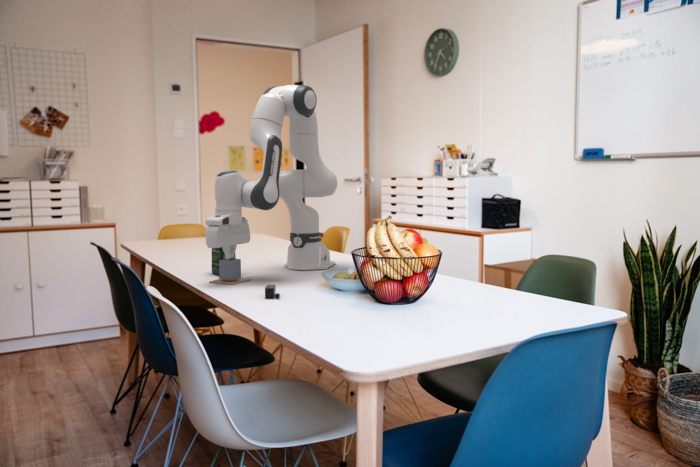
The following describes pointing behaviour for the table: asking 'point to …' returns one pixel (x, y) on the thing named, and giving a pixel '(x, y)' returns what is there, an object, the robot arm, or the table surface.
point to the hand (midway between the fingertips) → (229, 258)
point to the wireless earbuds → (271, 292)
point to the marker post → (230, 281)
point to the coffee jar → (217, 259)
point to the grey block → (230, 269)
